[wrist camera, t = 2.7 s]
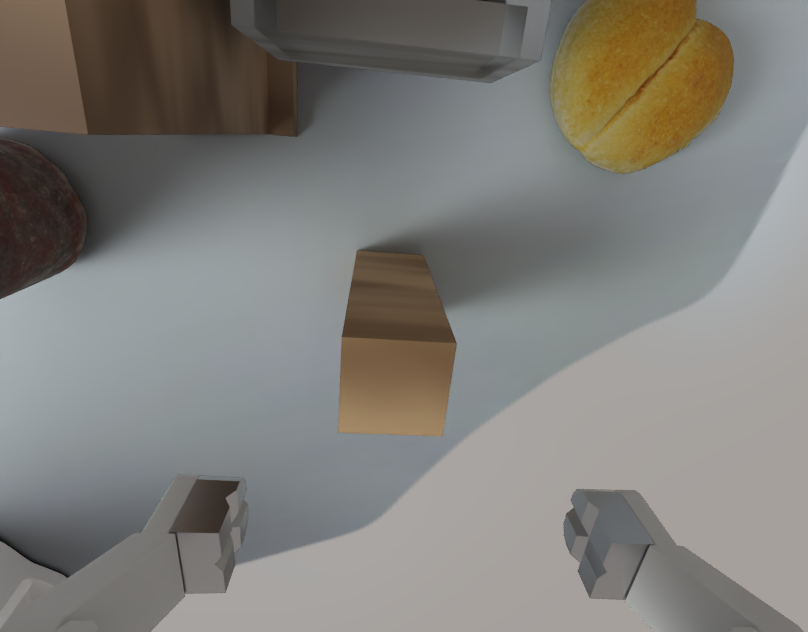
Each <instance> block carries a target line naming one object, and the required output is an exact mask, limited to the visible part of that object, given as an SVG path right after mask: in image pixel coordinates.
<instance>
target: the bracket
mask: <svg viewBox="0 0 808 632" xmlns="http://www.w3.org/2000/svg"><path fill="white" fill-rule="evenodd" d="M551 1H552V0H0V127H10V128H21V129H32V130H43V131H54V132H65V133H76V134H87V135H176V134H271V135H281V136H292V137H297V62H303V63H312V64H321V65H330V66H339V67H348V68H357V69H366V70H376V71H385V72H394V73H403V74H412V75H421V76H430V77H439V78H449V79H458V80H467V81H476V82H485V83H492V82H494V81H496V80H499V79H501V78H503V77H505V76H508V75H510V74H512V73H514V72H516V71H519V70H521V69H523V68H525V67H528V66H530V65H532V64H534V63H536V62H539V61H541V56H542V50H543V45H544V39H545V34H546V28H547V23H548V18H549V12H550V7H551Z"/></svg>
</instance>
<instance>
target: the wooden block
mask: <svg viewBox="0 0 808 632" xmlns="http://www.w3.org/2000/svg"><path fill="white" fill-rule="evenodd" d="M456 345H457V343H456V340H455V338H454V335H453V332H452V330H451V327H450V324H449V322H448V319H447V317H446V314H445V311H444V309H443V306H442V303H441V301H440V298H439V295H438V293H437V290H436V287H435V285H434V282H433V279H432V277H431V274H430V271H429V269H428V266H427V263H426V261H425V258H424V256H423V255H414V254H400V253H387V252H373V251H359V250H357V254H356V260H355V265H354V271H353V277H352V282H351V288H350V294H349V299H348V305H347V311H346V316H345V322H344V328H343V333H342V347H341V373H340V399H339V425H338V432H342V433H368V434H395V435H422V436H443V430H444V424H445V417H446V411H447V404H448V397H449V391H450V384H451V378H452V371H453V364H454V358H455V351H456Z"/></svg>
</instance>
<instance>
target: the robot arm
mask: <svg viewBox="0 0 808 632" xmlns="http://www.w3.org/2000/svg"><path fill="white" fill-rule="evenodd" d="M246 490H247V489H246V480H245V479H244V478H239V477H222V476H205V475H201V476H197V475H181V474H179V475H178V476H177V477H175V478H174V479H173V481H172V482H171V484H170V486H169V487H168V489H167V491H166V492H165V494H164V496H163V497H162V499H161V501H160V502H159V504H158V506H157V507H156V509H155V511H154V512H153V514H152V516H151V517H150V519H149V521H148V522H147V524H146V526H145V527H144V529H143V531H142V532H141V533H133V534H132V535H130V536H129V537H127V538H126V539H124V540H123V541H121V542H120V543H118V544H117V545H116V546H114V547H113V548H111V549H110V550H108V551H107V552H105V553H104V554H102V555H101V556H99V557H98V558H96V559H95V560H94V561H92V562H91V563H89V564H88V565H86V566H85V567H83V568H82V569H80V570H79V571H77V572H76V573H74V574H73V575H71V576H70V577H69V578H67V577H65V576H64V575H62V574H60V573H58V572H55V571H53V570H51V569H48V568H45V567H43V566H40V565H37V564H34V563H32V562H31V561H29V560H27V559H26V558H24V557H23V556H22V555H20V554H19V553H17V552H16V551H15V550H13V549H12V548H11V547H9V546H8V545H6V544H5V543H3V542H1V541H0V632H151V631H152V629H154V627H155V626H156V625H157V624H158V623H159V622H160V621H161V620H162V619H163V618H164V617H165V616H166V615H167V614H168V613H169V612H170V611H171V610H172V609H173V608H174V607H175V606H176V605H177V604H178V602H180V601H181V600H182V599H183V598H184V597H185V594H188V593H225V592H226V590H227V587H228V583H229V580H230V578H231V575H232V572H233V569H234V566H235V557H234V553H235V552H236V551H237V550H238V549H239V548H240V547H241V546H242V542H243V539H244V536H245V532H246V527H247V521H248V504H247V503H246V502H245V501H244V500H243V498H244V496H245V493H246ZM571 502H572V504H573V506H574V508H573V509H572V510H570V511H569V512H568V513H567V514H566V517H565V521H564V537H565V541H566V545H567V548H568V550H569V552H570V554H571V555H572V556H573V557H574V558H575V559H576V560H578V561H579V562H580V565H579V569H578V573H579V575H580V577H581V580H582V582H583V584H584V586H585V588H586V591H587V593H588V595H589V597H590V598H594V599H616V600H625V603H627V605H628V606H629V607H630V608H631V609H632V610H633V611H634V612H635V613H636V614H637V615H638V616H639V617H640V618H641V619H642V620H643V621H644V622H645V623H646V624H647V625H648V626H649V627H650V628H651V629H652V630H653V631H654V632H803V631H802V629H801V628H800V627H799V626H798V625H796V624H795V623H794V622H792V621H791V620H789V619H788V618H786V617H785V616H784V615H782V614H781V613H779V612H778V611H776V610H775V609H773V608H772V607H770V606H769V605H768V604H766V603H765V602H763V601H762V600H760V599H759V598H757V597H756V596H755V595H753V594H752V593H750V592H749V591H747V590H746V589H744V588H743V587H742V586H740V585H739V584H737V583H736V582H734V581H733V580H731V579H730V578H729V577H727V576H726V575H724V574H723V573H721V572H720V571H718V570H717V569H716V568H714V567H713V566H711V565H710V564H708V563H707V562H705V561H704V560H702V559H701V558H700V557H698V556H697V555H695V554H694V553H692V552H691V551H689V550H688V549H686V548H685V547H683V546H677V545H676V543H675V542H674V541H673V539H672V538H671V537H670V535H669V534H668V532H667V531H666V529H665V528H664V527H663V525H662V524H661V522H660V521H659V520H658V518H657V517H656V515H655V514H654V513H653V511H652V510H651V508H650V507H649V506H648V504H647V503H646V501H645V500H644V498H643V497H642V496H641V494H640V493H638V492H637V491H635V490H593V489H577V490H576V491H575V492H574V493H573V495H572V498H571Z"/></svg>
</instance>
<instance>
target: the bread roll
mask: <svg viewBox="0 0 808 632" xmlns="http://www.w3.org/2000/svg"><path fill="white" fill-rule="evenodd" d="M733 62H734V58H733V51H732V48H731V44H730V41H729V39H728V38H727V36H726V35H725V34H724V33H723V32H722V31H721V30H720V29H719V28H717V27H716V26H714V25H713V24H711V23H709V22H707V21H703V20H699V19H696V0H586V1H585V2H584V3H583V4H582V5H581V6H580V7H579V8H578V10H577V11H576V12H575V13H574V15H573V16H572V17H571V19H570V21H569V22H568V24H567V26H566V28H565V30H564V32H563V34H562V37H561V40H560V43H559V46H558V49H557V51H556V54H555V57H554V61H553V65H552V71H551V80H550V99H551V106H552V110H553V114H554V116H555V119H556V122H557V125H558V127H559V128H560V131H561V132H562V134H563V136H564V138H565V139H566V140H567V141H568V142H569V143H570V144H571V145H572V146H574V147H575V148H576V149H577V150H579V152H580V153H581V154H582V155H583V157H584V158H585V159H586V160H587V161H589V162H590V163H591V164H593V165H595V166H597V167H599V168H602V169H604V170H607V171H610V172H614V173H622V174H626V173H631V172H635V171H638V170H641V169H645V168H646V167H648V166H651V165H653V164H655V163H657V162H660V161H662V160H663V159H665V158H667V157H669V156H671V155H673V154H675V153H677V152H678V151H679V150H681V149H683V148H685V147H687V146H688V145H689V143H690V142H691V141H692V140H693V138H695V137H697V136H698V135H699V134H700V133H701V132H702V131H704V130H705V129H706V127H707V126H708V125H710V124H711V123H712V122H713V121H714V120H715V119H716V118H717V116H718V115H719V114H720V112H721V110H722V105H723V103H724V101H725V99H726V97H727V95H728V92H729V90H730V87H731V82H732V77H733Z"/></svg>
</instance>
